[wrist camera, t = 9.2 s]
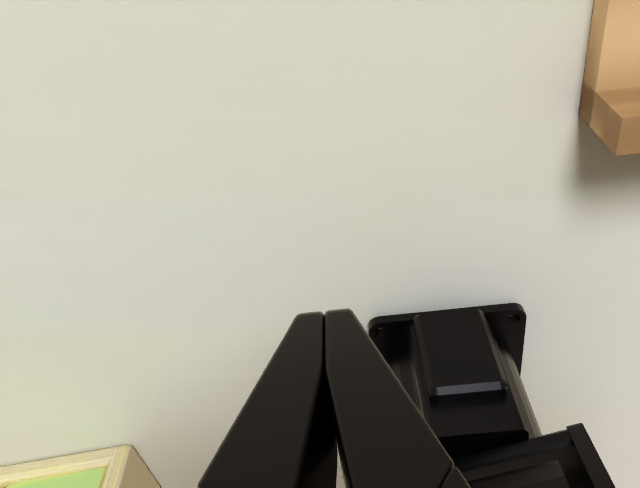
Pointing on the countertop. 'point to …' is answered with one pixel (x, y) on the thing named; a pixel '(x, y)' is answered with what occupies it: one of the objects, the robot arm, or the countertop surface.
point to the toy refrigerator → (82, 471)
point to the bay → (613, 76)
